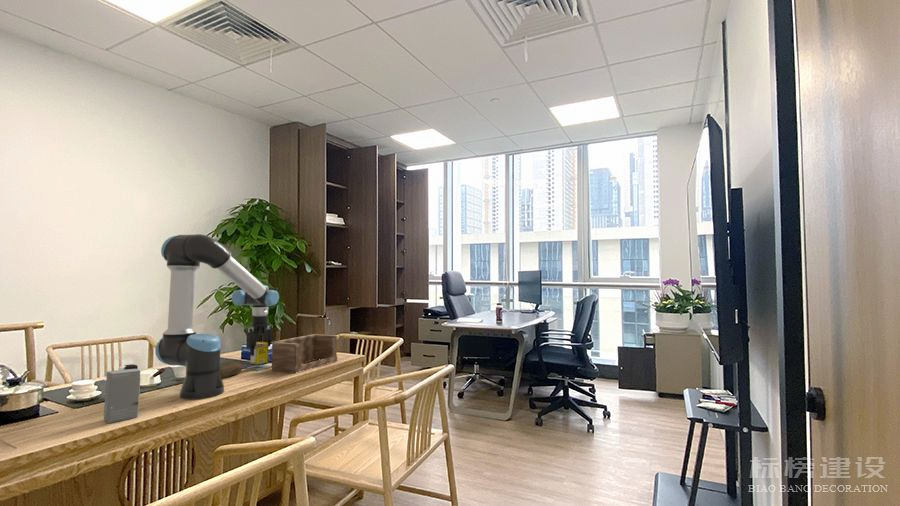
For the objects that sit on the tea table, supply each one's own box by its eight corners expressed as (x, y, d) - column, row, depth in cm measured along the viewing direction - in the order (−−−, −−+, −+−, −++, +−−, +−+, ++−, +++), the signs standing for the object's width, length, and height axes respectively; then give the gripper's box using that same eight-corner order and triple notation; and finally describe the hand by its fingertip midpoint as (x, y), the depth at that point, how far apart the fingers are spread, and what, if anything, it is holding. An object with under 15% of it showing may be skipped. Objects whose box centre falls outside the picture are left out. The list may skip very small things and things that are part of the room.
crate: (294, 373, 198) (295, 344, 199) (270, 370, 205) (271, 342, 206) (338, 361, 226) (338, 335, 227) (315, 358, 233) (315, 333, 234)
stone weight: (217, 381, 184) (217, 366, 184) (205, 380, 186) (205, 365, 186) (243, 374, 198) (244, 360, 198) (232, 373, 200) (232, 359, 201)
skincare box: (107, 424, 131) (109, 374, 132) (102, 419, 136) (104, 370, 137) (139, 417, 138) (141, 369, 139) (134, 412, 142) (136, 366, 143)
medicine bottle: (136, 392, 167) (138, 362, 168) (139, 395, 162) (140, 365, 163) (114, 395, 162) (115, 365, 163) (116, 399, 157) (117, 368, 158)
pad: (257, 370, 204) (257, 369, 204) (245, 369, 208) (245, 368, 208) (272, 367, 212) (272, 366, 212) (260, 365, 216) (260, 364, 216)
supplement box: (267, 363, 211) (268, 342, 211) (257, 366, 206) (257, 344, 206) (261, 362, 214) (261, 341, 214) (250, 364, 209) (250, 343, 209)
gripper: (248, 317, 201) (247, 364, 199) (280, 313, 218) (279, 357, 217) (238, 316, 204) (237, 363, 203) (270, 313, 221) (269, 356, 220)
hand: (259, 360), depth 210 cm, fingers closed on supplement box, 6 cm apart
